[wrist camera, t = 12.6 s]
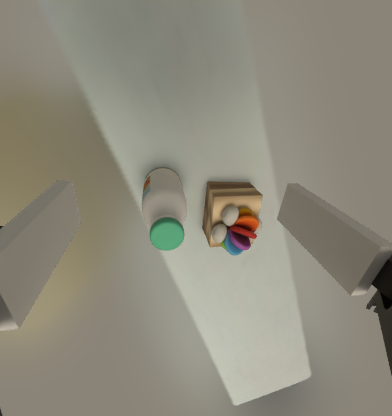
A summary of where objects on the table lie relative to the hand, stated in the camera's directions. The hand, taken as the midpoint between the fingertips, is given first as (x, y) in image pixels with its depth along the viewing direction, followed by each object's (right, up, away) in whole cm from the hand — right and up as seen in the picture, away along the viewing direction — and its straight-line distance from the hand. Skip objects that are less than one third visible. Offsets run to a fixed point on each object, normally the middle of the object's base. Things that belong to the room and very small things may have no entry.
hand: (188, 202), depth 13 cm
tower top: (+8, -2, +34) cm, 35 cm away
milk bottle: (-7, +5, +32) cm, 33 cm away
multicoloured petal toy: (+8, -4, +31) cm, 32 cm away
